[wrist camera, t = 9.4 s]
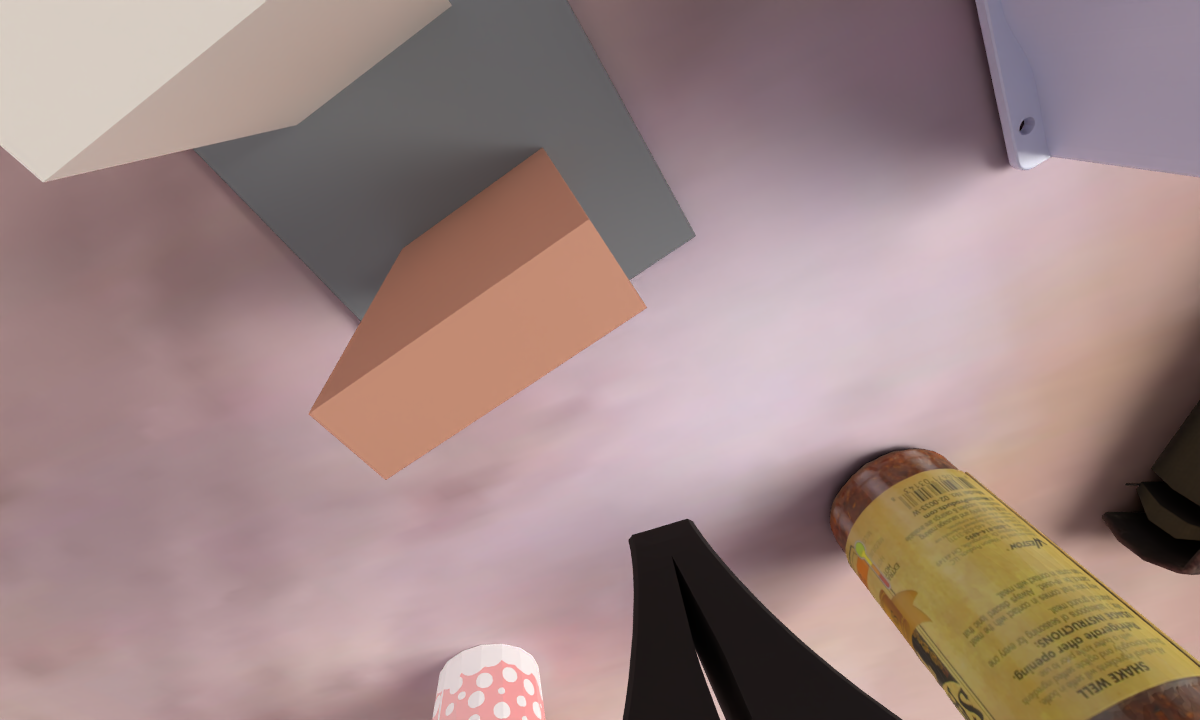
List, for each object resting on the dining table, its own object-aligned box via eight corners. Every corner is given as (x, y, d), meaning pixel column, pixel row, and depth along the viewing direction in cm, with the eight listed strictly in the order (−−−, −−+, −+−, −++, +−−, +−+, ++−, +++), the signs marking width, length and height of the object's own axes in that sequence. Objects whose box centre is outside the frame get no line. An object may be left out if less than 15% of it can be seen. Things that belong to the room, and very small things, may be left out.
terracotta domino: (402, 248, 16) (307, 414, 8) (542, 147, 15) (588, 219, 7) (438, 290, 17) (385, 479, 9) (574, 195, 16) (647, 307, 8)
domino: (452, 5, 14) (387, -97, 6) (296, 124, 14) (43, 182, 6) (407, -64, 13) (261, -291, 5) (245, 65, 13) (-114, 46, 6)
